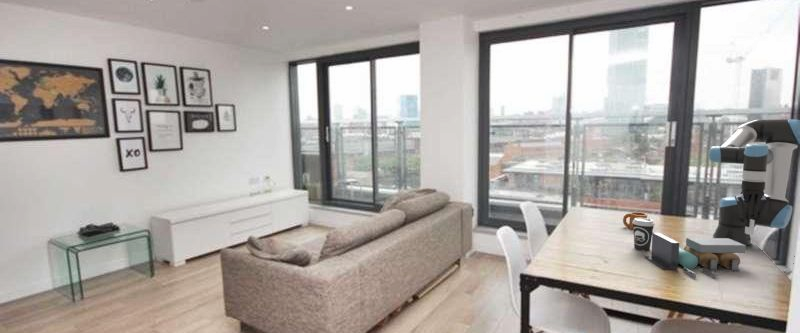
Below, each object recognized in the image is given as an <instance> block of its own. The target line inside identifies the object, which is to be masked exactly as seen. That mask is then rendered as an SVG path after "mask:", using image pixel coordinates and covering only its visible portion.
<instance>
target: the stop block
mask: <svg viewBox="0 0 800 333" xmlns="http://www.w3.org/2000/svg"><path fill="white" fill-rule="evenodd" d="M679 248H680V242H679V241H676V240H674V239H673V238H671V237H669V236H667V235H665V234H663V233H660V232H652V239H651V255H644V257H643V258H644V259H646V260H647V261H649V262H650V263H652V264H653V265H655V266H656V267H658V268H659V269H661V270H662V271H665V270H666V271H678V268H679V263H678V257H679Z"/></svg>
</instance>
